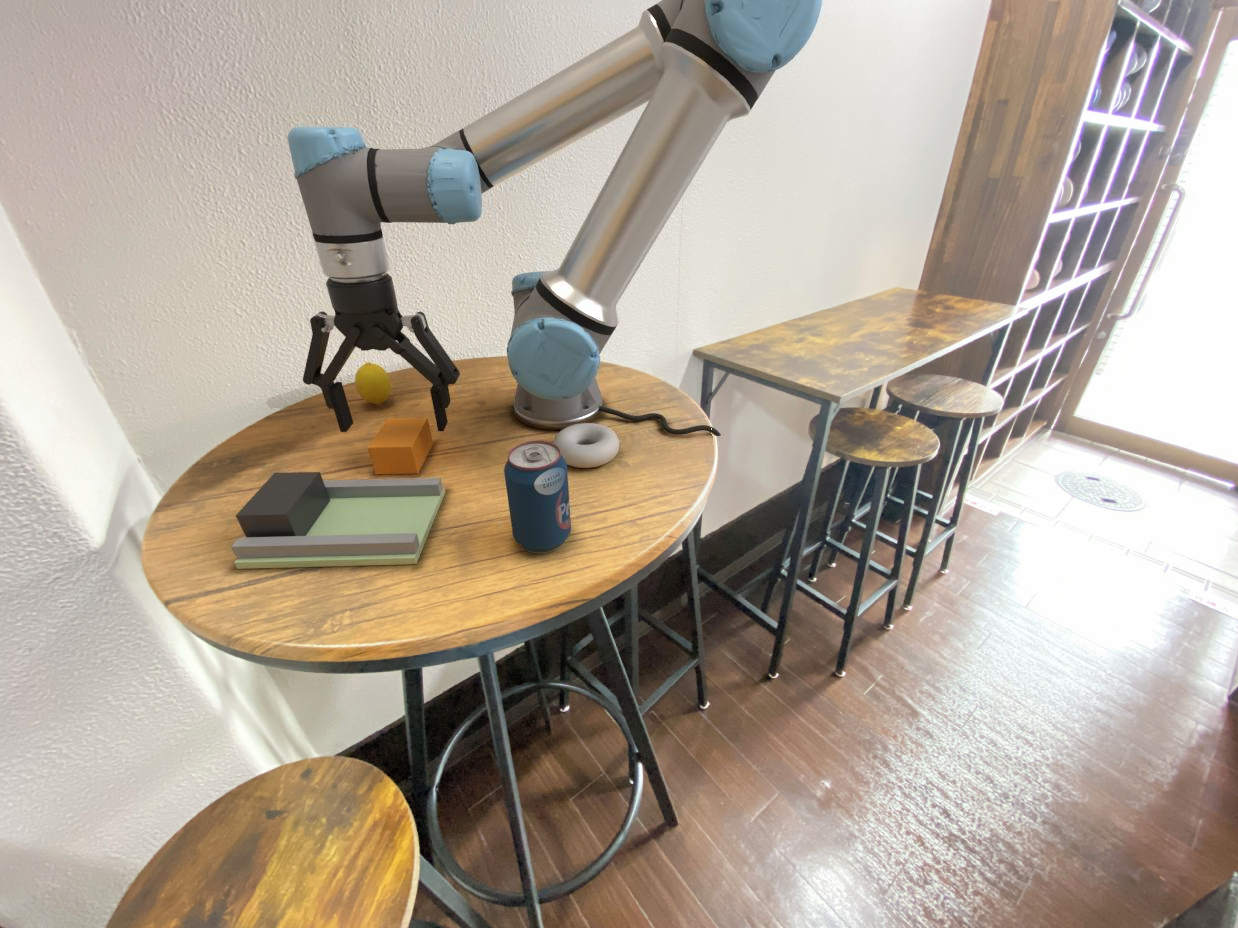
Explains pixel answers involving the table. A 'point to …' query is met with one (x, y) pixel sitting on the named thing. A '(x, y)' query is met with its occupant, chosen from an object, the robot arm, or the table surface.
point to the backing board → (336, 521)
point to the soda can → (538, 496)
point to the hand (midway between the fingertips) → (395, 427)
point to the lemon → (373, 383)
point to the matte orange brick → (401, 446)
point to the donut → (591, 455)
